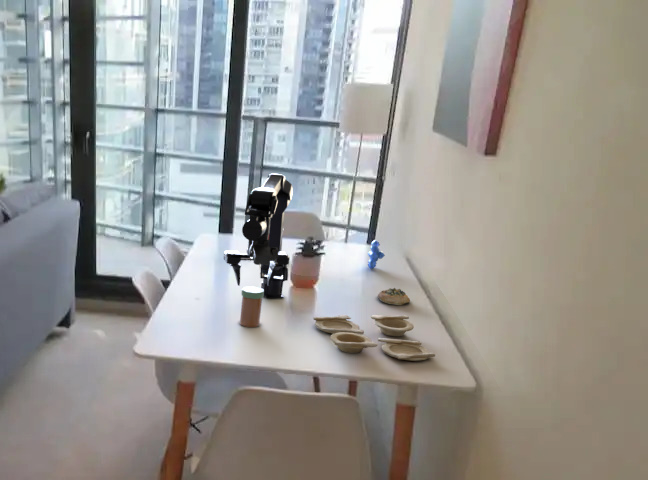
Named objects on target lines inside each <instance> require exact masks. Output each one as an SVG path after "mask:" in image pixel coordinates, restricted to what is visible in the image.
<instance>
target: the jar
mask: <svg viewBox="0 0 648 480" xmlns="http://www.w3.org/2000/svg"><path fill="white" fill-rule="evenodd" d="M262 304H263V298H260V299H251V298H246V297H243V296H242V295H241V307H240V317H239V325H241V326H243V327H246V328H257V327H259V326H260V321H261V313H262V312H261V311H262Z"/></svg>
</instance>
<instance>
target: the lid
mask: <svg viewBox="0 0 648 480" xmlns="http://www.w3.org/2000/svg"><path fill="white" fill-rule="evenodd" d="M240 294H241V297H242V296H243V297H246V298H251V299H260V298H262V299H263V298H265V297H264V290H263V289H262V288H261V287H258V286H244V287H242V288H241V293H240Z"/></svg>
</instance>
